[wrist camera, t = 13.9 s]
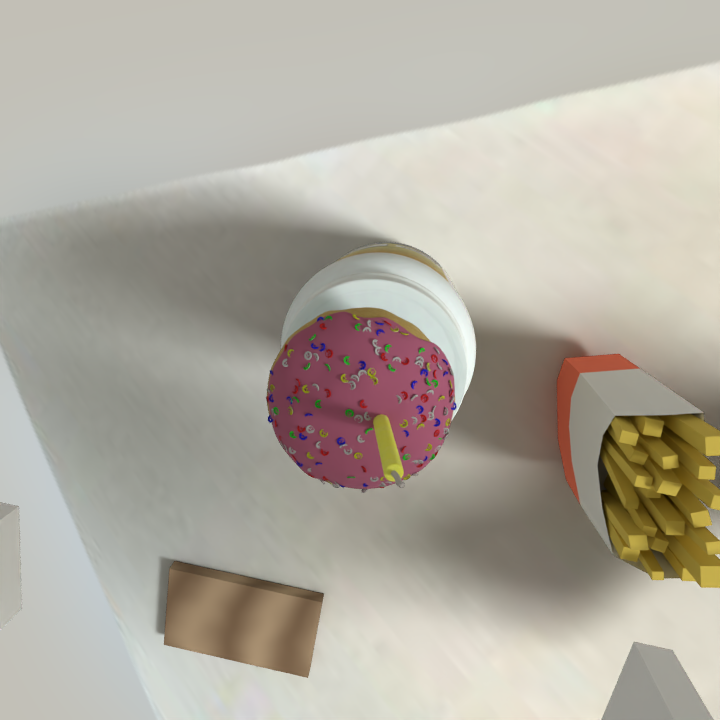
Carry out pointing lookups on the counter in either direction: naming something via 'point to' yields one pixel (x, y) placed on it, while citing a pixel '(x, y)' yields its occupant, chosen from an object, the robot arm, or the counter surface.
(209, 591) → the cutting board
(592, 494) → the french fries container
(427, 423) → the cupcake
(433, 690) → the counter surface
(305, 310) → the supplement tub
